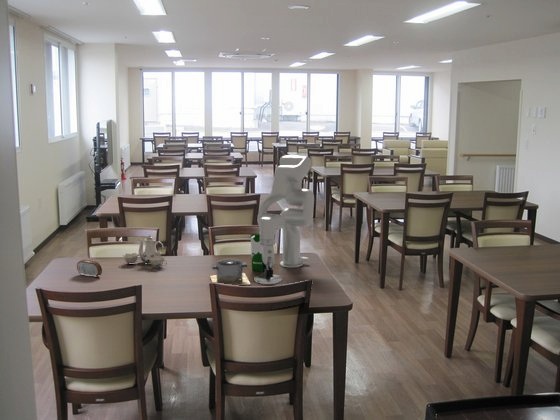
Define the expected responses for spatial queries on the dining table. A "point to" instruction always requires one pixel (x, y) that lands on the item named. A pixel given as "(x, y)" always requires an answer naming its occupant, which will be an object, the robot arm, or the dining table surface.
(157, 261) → the chinaware
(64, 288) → the dining table surface
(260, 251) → the soya milk
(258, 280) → the lid
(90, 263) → the tin
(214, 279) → the pot
